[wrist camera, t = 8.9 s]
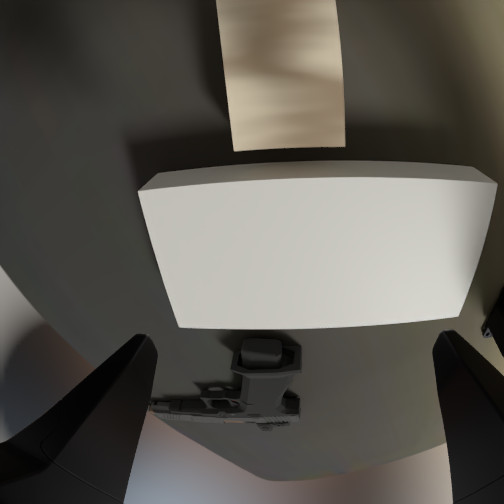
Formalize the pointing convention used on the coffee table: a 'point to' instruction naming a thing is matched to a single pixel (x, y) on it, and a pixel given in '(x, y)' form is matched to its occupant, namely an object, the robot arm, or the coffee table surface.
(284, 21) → the brown and pink block
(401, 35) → the coffee table surface
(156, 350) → the robot arm
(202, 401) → the handgun
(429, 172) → the panel
